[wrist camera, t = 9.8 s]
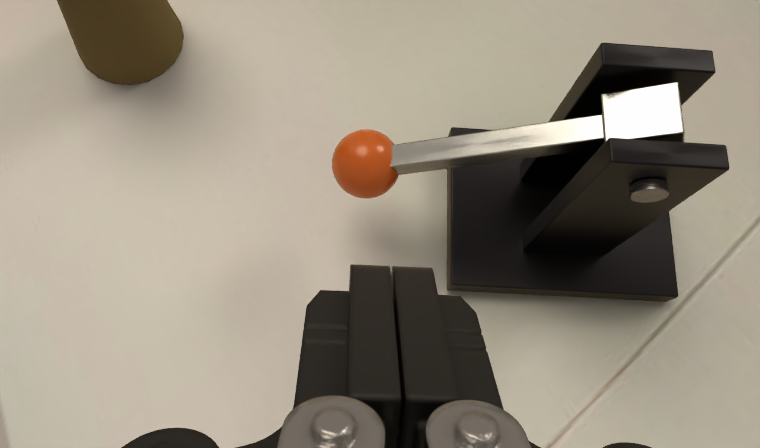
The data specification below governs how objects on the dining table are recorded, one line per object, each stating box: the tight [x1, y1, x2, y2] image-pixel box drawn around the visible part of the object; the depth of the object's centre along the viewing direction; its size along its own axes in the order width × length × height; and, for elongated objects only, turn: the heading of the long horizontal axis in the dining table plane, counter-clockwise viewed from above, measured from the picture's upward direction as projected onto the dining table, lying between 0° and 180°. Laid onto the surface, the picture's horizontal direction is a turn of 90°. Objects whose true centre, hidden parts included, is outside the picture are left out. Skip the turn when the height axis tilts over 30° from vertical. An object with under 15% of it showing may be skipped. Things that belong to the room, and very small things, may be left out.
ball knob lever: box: [332, 82, 684, 198], centre depth 28 cm, size 15×3×3 cm, turn 89°
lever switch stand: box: [447, 43, 729, 302], centre depth 30 cm, size 12×9×13 cm
